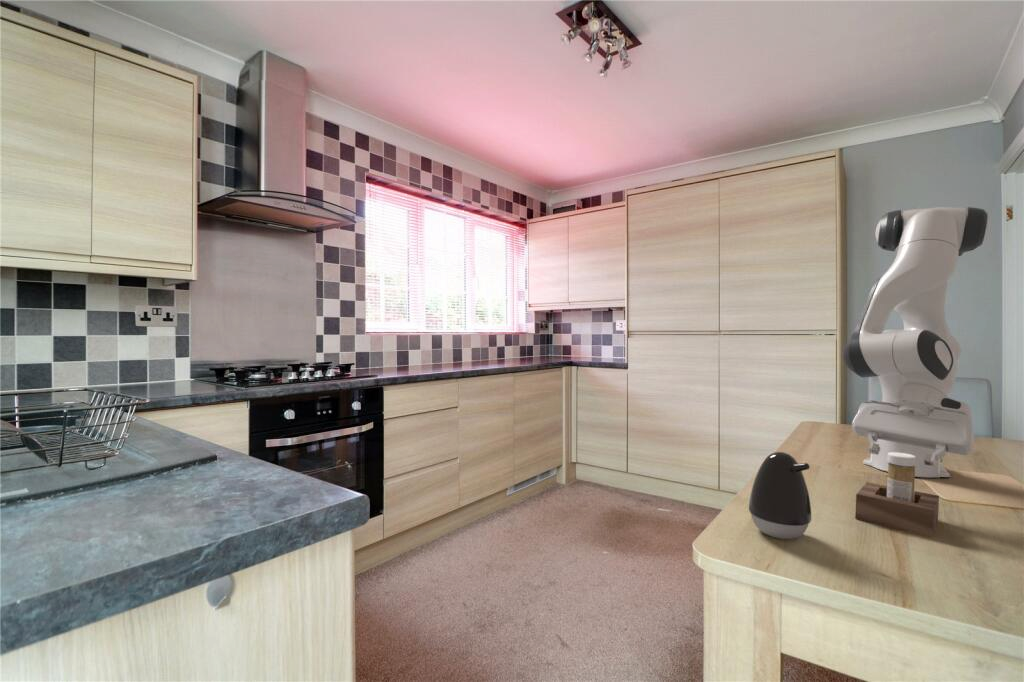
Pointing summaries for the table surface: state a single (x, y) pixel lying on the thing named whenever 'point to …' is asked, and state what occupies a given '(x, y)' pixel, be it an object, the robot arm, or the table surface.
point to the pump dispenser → (780, 497)
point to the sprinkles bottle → (901, 476)
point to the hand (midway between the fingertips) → (900, 458)
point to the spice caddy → (897, 510)
